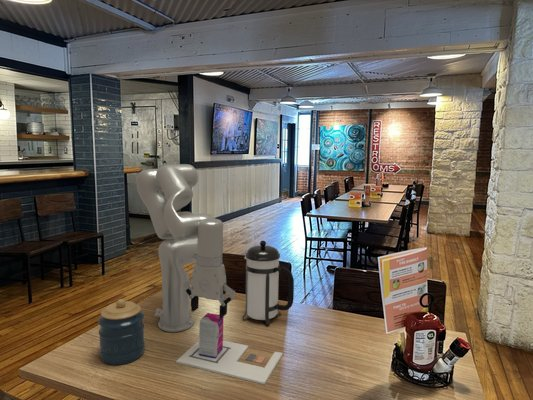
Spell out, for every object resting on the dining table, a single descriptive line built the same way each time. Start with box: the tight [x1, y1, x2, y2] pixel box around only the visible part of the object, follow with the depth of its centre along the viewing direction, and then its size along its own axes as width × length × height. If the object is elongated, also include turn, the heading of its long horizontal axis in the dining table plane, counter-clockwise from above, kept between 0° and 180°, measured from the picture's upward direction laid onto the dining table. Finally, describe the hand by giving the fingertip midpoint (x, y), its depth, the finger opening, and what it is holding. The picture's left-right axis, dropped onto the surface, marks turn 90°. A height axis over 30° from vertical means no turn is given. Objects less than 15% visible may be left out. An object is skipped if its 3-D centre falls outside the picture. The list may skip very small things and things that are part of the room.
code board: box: [175, 339, 283, 386], centre depth 113 cm, size 28×16×1 cm, turn 70°
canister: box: [97, 298, 146, 366], centre depth 113 cm, size 13×13×18 cm
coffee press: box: [241, 240, 295, 327], centre depth 139 cm, size 17×16×30 cm
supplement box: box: [198, 312, 225, 358], centre depth 114 cm, size 6×6×12 cm
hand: (208, 313), depth 114 cm, fingers open, 9 cm apart
